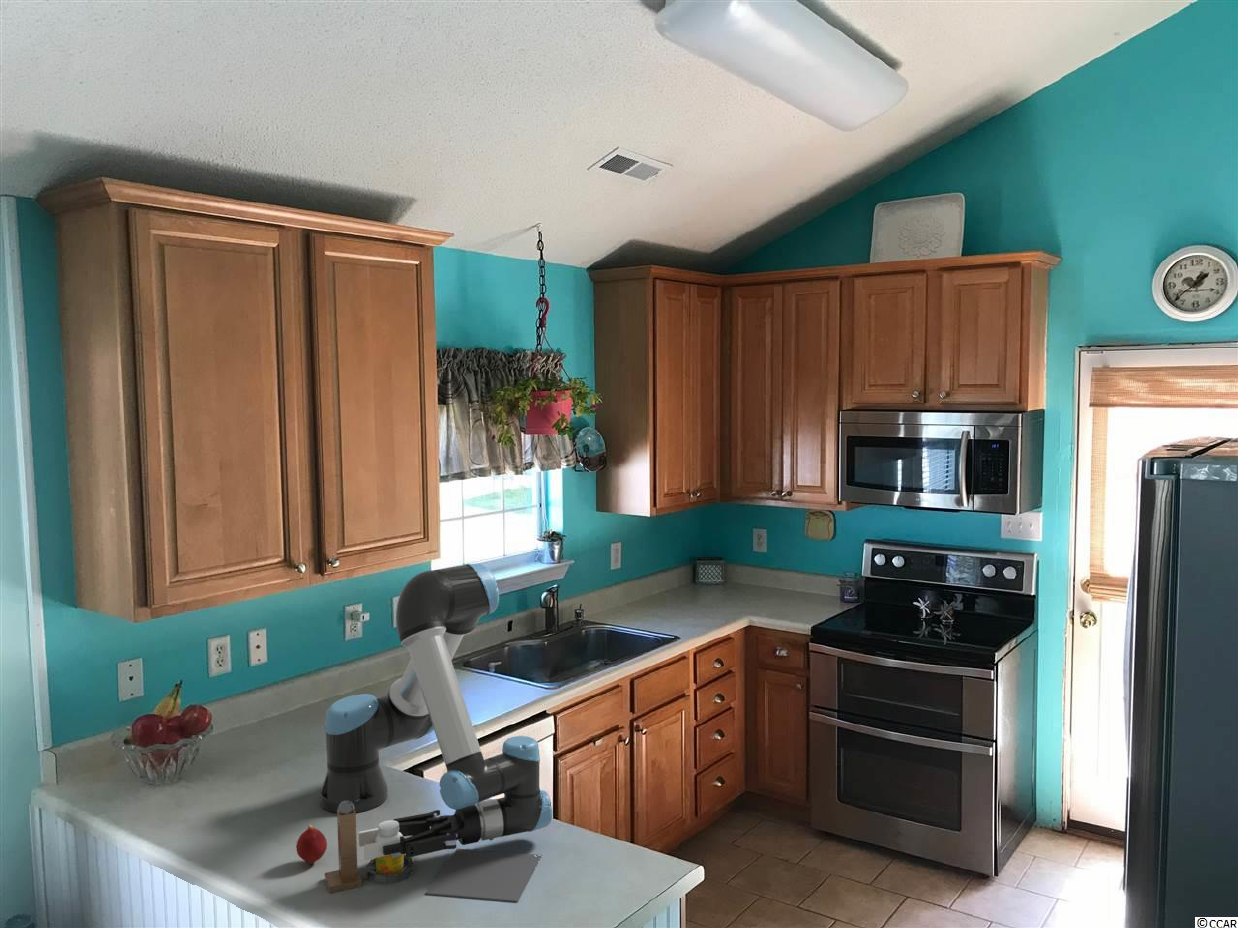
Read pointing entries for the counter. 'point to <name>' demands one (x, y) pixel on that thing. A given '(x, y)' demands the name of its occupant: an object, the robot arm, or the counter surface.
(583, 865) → the counter surface
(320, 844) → the onion
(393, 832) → the supplement bottle
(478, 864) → the mat
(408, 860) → the ring stand
